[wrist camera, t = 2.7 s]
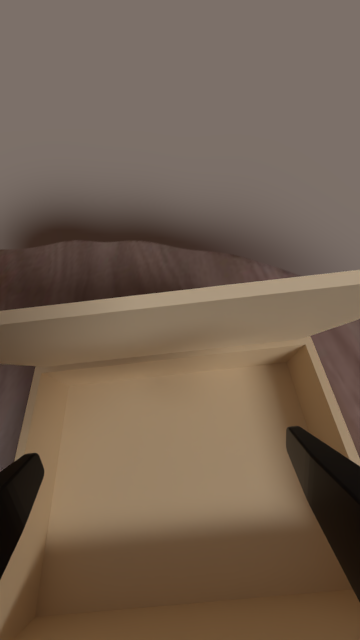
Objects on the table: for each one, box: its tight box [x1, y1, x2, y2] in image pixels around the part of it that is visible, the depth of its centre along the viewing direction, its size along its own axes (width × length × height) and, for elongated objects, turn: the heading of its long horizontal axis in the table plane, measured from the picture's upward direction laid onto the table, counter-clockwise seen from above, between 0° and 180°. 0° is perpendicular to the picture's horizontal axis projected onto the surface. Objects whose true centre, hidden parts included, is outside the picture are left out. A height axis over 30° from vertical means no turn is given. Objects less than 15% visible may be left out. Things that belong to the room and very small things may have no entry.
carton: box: [0, 337, 360, 640], centre depth 17 cm, size 16×22×5 cm
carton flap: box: [0, 270, 360, 367], centre depth 12 cm, size 12×20×1 cm
